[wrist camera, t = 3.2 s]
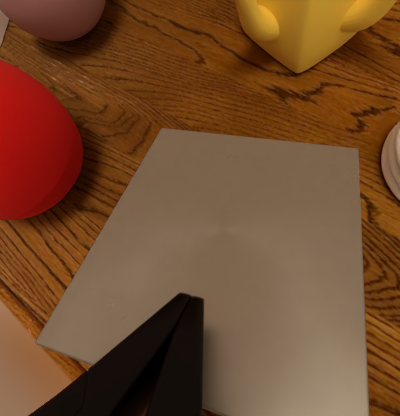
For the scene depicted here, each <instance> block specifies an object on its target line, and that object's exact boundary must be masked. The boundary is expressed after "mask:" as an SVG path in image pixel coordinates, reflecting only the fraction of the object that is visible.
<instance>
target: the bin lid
mask: <svg viewBox="0 0 400 416" xmlns="http://www.w3.org/2000/svg"><path fill="white" fill-rule="evenodd" d="M181 292H183V293H186V294H190V295H191V296H197V297H201V298H203V299H204V340H203V395H202V408H204V409H206V410H209V411H211V412H214V413H217V414H219V415H222V416H369V396H368V372H367V348H366V324H365V300H364V276H363V252H362V228H361V204H360V181H359V157H358V148H350V147H340V146H331V145H321V144H311V143H302V142H292V141H283V140H273V139H263V138H254V137H244V136H235V135H225V134H215V133H206V132H196V131H187V130H177V129H167V128H161V130H160V131H159V133H158V135H157V137H156V138H155V140H154V142H153V143H152V145H151V147H150V148H149V150H148V152H147V153H146V155H145V157H144V159H143V160H142V162H141V164H140V165H139V167H138V169H137V170H136V172H135V174H134V176H133V177H132V179H131V181H130V182H129V184H128V186H127V187H126V189H125V191H124V193H123V194H122V196H121V198H120V199H119V201H118V203H117V204H116V206H115V208H114V210H113V211H112V213H111V215H110V216H109V218H108V220H107V221H106V223H105V225H104V226H103V228H102V230H101V232H100V233H99V235H98V237H97V238H96V240H95V242H94V243H93V245H92V247H91V249H90V250H89V252H88V254H87V255H86V257H85V259H84V260H83V262H82V264H81V266H80V267H79V269H78V271H77V272H76V274H75V276H74V277H73V279H72V281H71V283H70V284H69V286H68V288H67V289H66V291H65V293H64V294H63V296H62V298H61V299H60V301H59V303H58V305H57V306H56V308H55V310H54V311H53V313H52V315H51V316H50V318H49V320H48V322H47V323H46V325H45V327H44V328H43V330H42V332H41V333H40V335H39V337H38V339H37V340H36V342H35V343H36V344H37V345H40V346H42V347H45V348H47V349H50V350H53V351H55V352H58V353H60V354H63V355H66V356H68V357H71V358H73V359H76V360H79V361H81V362H84V363H86V364H89V365H92V366H93V365H94V364H95V363H96V362H97V361H99V360H100V359H101V358H102V357H103V356H105V355H106V354H107V353H108V352H109V351H110V350H112V349H113V348H114V347H115V346H116V345H118V344H119V343H120V342H121V341H122V340H124V339H125V338H126V337H127V336H128V335H130V334H131V333H132V332H133V331H134V330H135V329H137V328H138V327H139V326H140V325H141V324H143V323H144V322H145V321H146V320H147V319H149V318H150V317H151V316H152V315H153V314H155V313H156V312H157V311H158V310H159V309H160V308H162V307H163V306H164V305H165V304H166V303H168V302H169V301H170V300H171V299H172V298H174V297H175V296H176V295H177V294H178V293H181Z"/></svg>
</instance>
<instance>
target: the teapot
mask: <svg viewBox="0 0 400 416" xmlns="http://www.w3.org/2000/svg"><path fill="white" fill-rule="evenodd" d="M396 1H397V0H234V2H235V3H236V6H237V10H238V15H239V20H240V23H241V26H242V29H243V31H244V32H245V33H246V34H247V35H248V36H249V37H250V38H251V39H252V40H253V41H254V42H255V43H257V44H258V45H259V46H260V47H261V48H262V49H264V50H265V51H266V52H267V53H268V54H270V55H271V56H272V57H274V58H275V59H276V60H277V61H279V62H280V63H281V64H283V65H284V66H285V67H287V68H288V69H290V70H291V71H293V72H295V73H301V72H303V71H305V70H307V69H309V68H311V67H312V66H314V65H315V64H317V63H318V62H320V61H321V60H323V59H324V58H326V57H327V56H328V55H330V54H331V53H333V52H334V51H335V50H337V49H338V48H339V47H341V46H342V45H343V44H345V43H346V42H347V41H348V40H349V39H350V38H352V37H353V36H354V35H355V34H356V33H357V32H358V31H361V30H364V29H366V28H368V27H370V26H371V25H373V24H375V23H376V22H377V21H379V20H380V19H381V18H382V17H383V16H384V15H385V14H386V13H387V12H388V11H389V10H390V9H391V8H392V6H393V5H394V4H395V2H396Z"/></svg>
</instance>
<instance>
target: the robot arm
mask: <svg viewBox="0 0 400 416" xmlns="http://www.w3.org/2000/svg"><path fill="white" fill-rule="evenodd" d="M203 340H204V299H203V298H201V297H197V296H191V295H190V294H186V293H183V292H181V293H178V294H177V295H176V296H175V297H174V298H172V299H171V300H170V301H169V302H168V303H166V304H165V305H164V306H163V307H162V308H160V309H159V310H158V311H157V312H156V313H155V314H153V315H152V316H151V317H150V318H149V319H147V320H146V321H145V322H144V323H143V324H141V325H140V326H139V327H138V328H137V329H135V330H134V331H133V332H132V333H131V334H130V335H128V336H127V337H126V338H125V339H124V340H122V341H121V342H120V343H119V344H118V345H116V346H115V347H114V348H113V349H112V350H110V351H109V352H108V353H107V354H106V355H105V356H103V357H102V358H101V359H100V360H99V361H97V362H96V363H95V364H94V365H93V366H91V367H90V368H89V370H88V371H85V372H84V373H83V374H82V375H81V376H79V377H78V378H77V379H76V380H75V381H73V382H72V383H71V384H70V385H69V386H67V387H66V388H65V389H63V390H62V391H61V392H60V393H59V394H57V395H56V396H55V397H54V398H52V399H51V400H49V401H48V402H46V403H45V404H44V405H43V406H41V407H40V408H38V409H37V410H36V411H34V412H33V413H31V414H30V415H29V416H202V395H203Z"/></svg>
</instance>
